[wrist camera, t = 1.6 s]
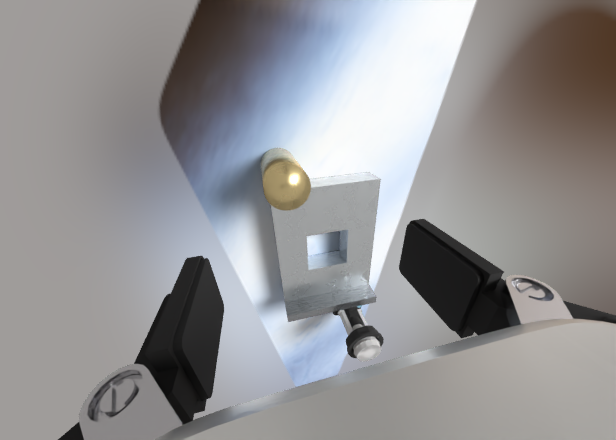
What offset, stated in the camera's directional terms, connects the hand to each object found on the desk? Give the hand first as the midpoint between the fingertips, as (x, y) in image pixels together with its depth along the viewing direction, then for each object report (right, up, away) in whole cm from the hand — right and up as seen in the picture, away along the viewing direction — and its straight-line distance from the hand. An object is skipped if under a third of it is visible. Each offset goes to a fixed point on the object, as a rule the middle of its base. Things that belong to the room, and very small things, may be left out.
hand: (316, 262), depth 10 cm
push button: (+5, -11, +28) cm, 31 cm away
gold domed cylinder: (-4, +8, +15) cm, 18 cm away
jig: (+2, -1, +21) cm, 21 cm away
